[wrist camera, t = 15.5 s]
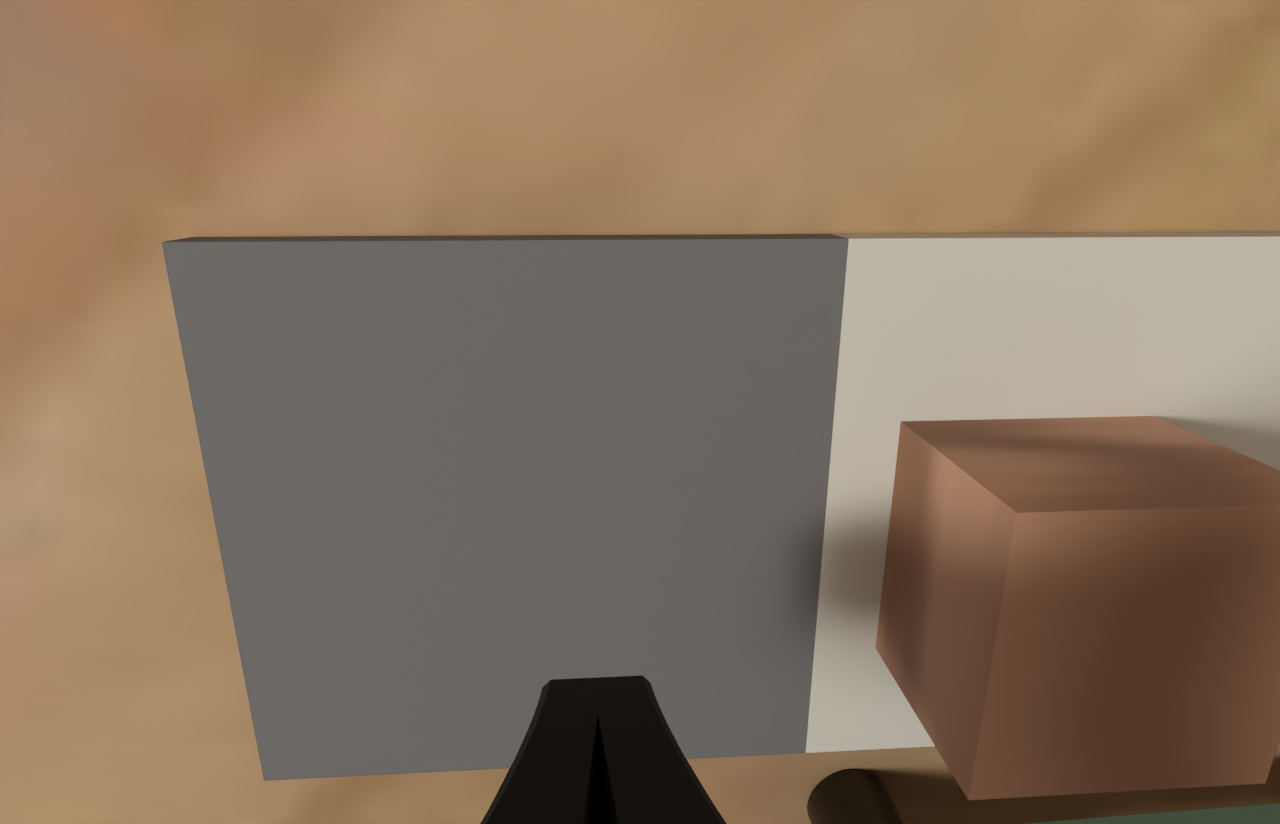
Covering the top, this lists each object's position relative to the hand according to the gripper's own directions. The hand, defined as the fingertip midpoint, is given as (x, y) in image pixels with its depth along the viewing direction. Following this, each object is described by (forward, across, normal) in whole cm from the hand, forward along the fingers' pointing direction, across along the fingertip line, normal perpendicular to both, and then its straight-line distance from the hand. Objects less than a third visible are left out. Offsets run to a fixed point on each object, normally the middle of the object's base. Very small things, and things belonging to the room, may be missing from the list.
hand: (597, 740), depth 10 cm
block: (+5, -8, 0) cm, 10 cm away
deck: (+6, -4, -1) cm, 7 cm away
